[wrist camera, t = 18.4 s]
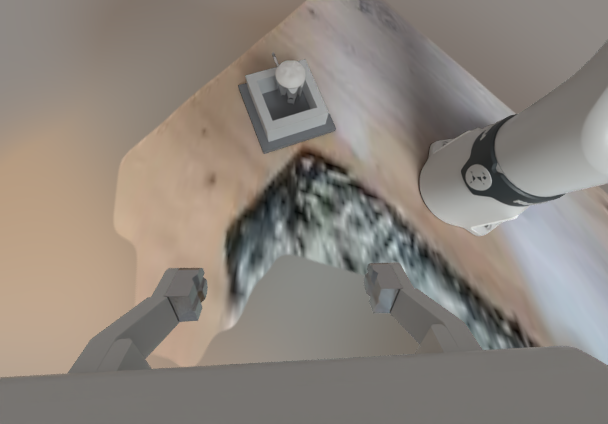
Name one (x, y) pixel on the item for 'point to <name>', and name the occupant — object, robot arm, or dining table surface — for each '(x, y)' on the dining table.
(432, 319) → the robot arm
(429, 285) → the dining table surface
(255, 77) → the sleeve housing
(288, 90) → the milkshake
